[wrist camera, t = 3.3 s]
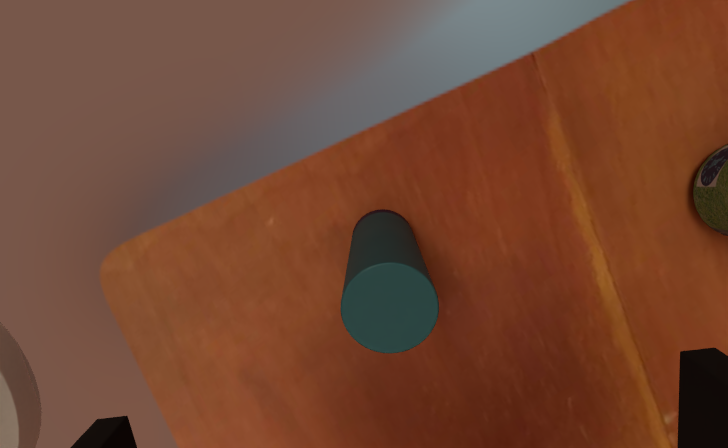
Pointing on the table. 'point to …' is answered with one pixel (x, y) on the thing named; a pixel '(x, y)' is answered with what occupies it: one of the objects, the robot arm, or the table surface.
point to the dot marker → (387, 286)
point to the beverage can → (713, 191)
